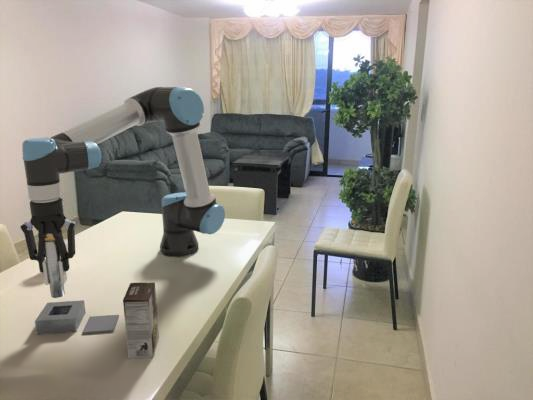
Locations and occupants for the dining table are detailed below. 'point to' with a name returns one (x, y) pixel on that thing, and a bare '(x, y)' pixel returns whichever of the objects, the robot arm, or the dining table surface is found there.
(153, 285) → the coffee box
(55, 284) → the grey long rod
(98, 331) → the mat
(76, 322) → the block
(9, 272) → the dining table surface
